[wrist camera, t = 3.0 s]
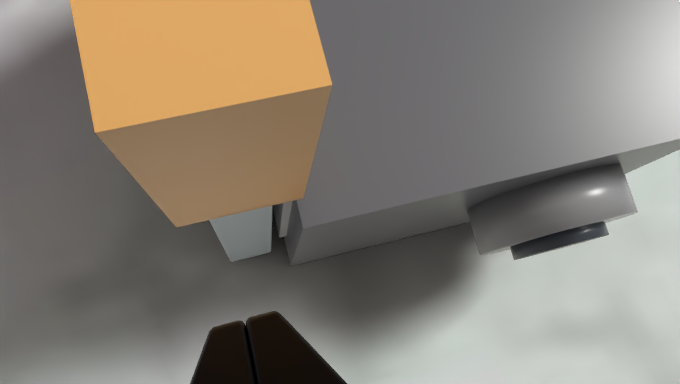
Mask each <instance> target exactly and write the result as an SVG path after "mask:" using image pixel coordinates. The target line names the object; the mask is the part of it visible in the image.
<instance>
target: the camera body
mask: <svg viewBox="0 0 680 384" xmlns="http://www.w3.org/2000/svg"><path fill="white" fill-rule="evenodd" d="M310 4H311V7H312V11H313V15H314V18H315V22H316V26H317V30H318V33H319V37H320V41H321V44H322V48H323V52H324V55H325V59H326V63H327V67H328V70H329V74H330V78H331V81H332V88H331V92H330V96H329V100H328V104H327V108H326V112H325V116H324V120H323V124H322V127H321V131H320V135H319V139H318V143H317V147H316V151H315V155H314V159H313V162H312V166H311V170H310V174H309V178H308V182H307V186H306V190H305V194H304V198H303V199H298V200H294V201H290V202H285V203H281V204H276V205H272V209H273V213H274V217H275V222H276V226H277V230H278V234H279V238H280V237H284V240H285V244H286V248H287V252H288V256H289V260H290V265H291V266H293V265H297V264H301V263H305V262H309V261H313V260H317V259H322V258H326V257H330V256H334V255H338V254H342V253H346V252H350V251H354V250H358V249H362V248H366V247H370V246H374V245H378V244H382V243H386V242H390V241H394V240H398V239H402V238H407V237H411V236H415V235H419V234H423V233H427V232H431V231H435V230H439V229H443V228H447V227H451V226H455V225H459V224H463V223H467V222H470V223H471V226H472V230H473V233H474V236H475V240H476V243H477V246H478V250H479V253H480V255H486V254H491V253H495V252H499V251H504V250H508V249H511V252H512V255H513V258H514V260H516V259H521V258H525V257H529V256H533V255H537V254H540V253H544V252H548V251H552V250H556V249H559V248H563V247H567V246H570V245H574V244H578V243H582V242H585V241H589V240H592V239H596V238H599V237H603V236H606V235H609V233H608V230H607V228H606V225H605V223H607V222H610V221H613V220H617V219H620V218H623V217H626V216H629V215H632V214H634V213H637V212H638V211H637V208H636V205H635V203H634V200H633V197H632V194H631V191H630V188H629V186H628V183H627V180H626V177H625V174H626V173H628V172H630V171H632V170H635V169H637V168H639V167H641V166H643V165H646V164H648V163H650V162H652V161H655V160H657V159H659V158H661V157H664V156H666V155H668V154H670V153H672V152H675V151H677V150H679V149H680V0H310Z"/></svg>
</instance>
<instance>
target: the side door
mask: <svg viewBox="0 0 680 384" xmlns="http://www.w3.org/2000/svg"><path fill="white" fill-rule="evenodd" d="M70 5H71V10H72V15H73V21H74V26H75V31H76V36H77V42H78V47H79V52H80V57H81V63H82V68H83V73H84V79H85V84H86V89H87V94H88V100H89V105H90V110H91V115H92V121H93V126H94V131H95V134H96V135H97V136H98V137H99V138H100V139H101V141H102V142H103V143H104V144H105V145H106V146H107V147H108V149H109V150H110V151H111V152H112V153H113V154H114V156H115V157H116V158H117V159H118V160H119V161H120V163H121V164H122V165H123V166H124V167H125V168H126V170H127V171H128V172H129V173H130V174H131V175H132V176H133V178H134V179H135V180H136V181H137V182H138V183H139V185H140V186H141V187H142V188H143V189H144V190H145V192H146V193H147V194H148V195H149V196H150V197H151V198H152V200H153V201H154V202H155V203H156V204H157V205H158V207H159V208H160V209H161V210H162V211H163V212H164V214H165V215H166V216H167V217H168V218H169V219H170V220H171V222H172V223H173V224H174V225H175V226H176V227H181V226H185V225H190V224H194V223H198V222H203V221H207V220H209V221H210V223H211V225H212V227H213V229H214V231H215V232H216V234H217V236H218V238H219V240H220V242H221V244H222V246H223V248H224V250H225V252H226V254H227V255H228V257H229V259H230V261H231V262H233V261H237V260H241V259H245V258H250V257H254V256H258V255H262V254H266V253H270V252H271V234H272V205H276V204H281V203H285V202H290V201H294V200H298V199H303V198H304V194H305V190H306V186H307V182H308V178H309V174H310V170H311V166H312V162H313V159H314V155H315V151H316V147H317V143H318V139H319V135H320V131H321V127H322V124H323V120H324V116H325V112H326V108H327V104H328V100H329V96H330V92H331V88H332V81H331V78H330V74H329V70H328V67H327V63H326V59H325V55H324V52H323V48H322V44H321V41H320V37H319V33H318V30H317V26H316V22H315V18H314V15H313V11H312V7H311V4H310V0H70Z"/></svg>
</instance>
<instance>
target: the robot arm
mask: <svg viewBox="0 0 680 384" xmlns="http://www.w3.org/2000/svg"><path fill="white" fill-rule="evenodd" d="M190 384H347V383H346V382H345V381H344V380H343V379H342V378H341V377H340V376H339V375H338V373H337V372H336V371H335V370H334V369H333V368H332V367H331V366H330V365H329V364H328V363H327V362H326V361H325V360H324V359H323V358H322V357H321V356H320V355H319V354H318V353H317V352H316V350H315V349H314V348H313V347H312V346H311V345H310V344H309V343H308V342H307V341H306V340H305V339H304V338H303V337H302V336H301V335H300V334H299V333H298V332H297V331H296V330H295V328H294V327H293V326H292V325H291V324H290V323H289V322H288V321H287V320H286V319H285V318H284V317H283V316H282V315H281V314H280V313H278V312H276V311H272V312H268V313H265V314H261V315H257V316H253V317H250V318H248V319H247V320H246V326H245V323H244V322H243V321H235V322H231V323H227V324H224V325H220V326H216V327H214V328H212V329H211V330H210V332H209V334H208V336H207V339H206V342H205V344H204V347H203V350H202V353H201V355H200V358H199V361H198V363H197V366H196V369H195V372H194V374H193V377H192V380H191V383H190Z"/></svg>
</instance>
